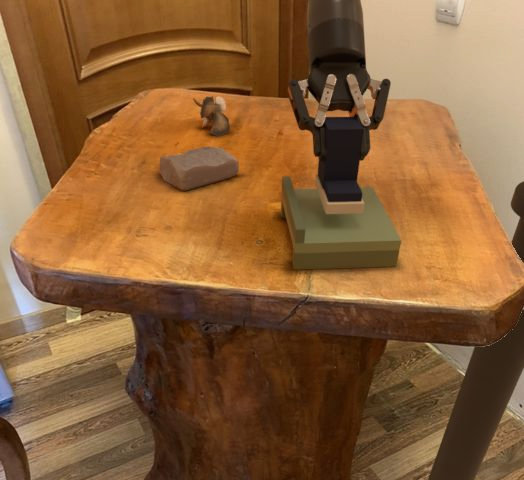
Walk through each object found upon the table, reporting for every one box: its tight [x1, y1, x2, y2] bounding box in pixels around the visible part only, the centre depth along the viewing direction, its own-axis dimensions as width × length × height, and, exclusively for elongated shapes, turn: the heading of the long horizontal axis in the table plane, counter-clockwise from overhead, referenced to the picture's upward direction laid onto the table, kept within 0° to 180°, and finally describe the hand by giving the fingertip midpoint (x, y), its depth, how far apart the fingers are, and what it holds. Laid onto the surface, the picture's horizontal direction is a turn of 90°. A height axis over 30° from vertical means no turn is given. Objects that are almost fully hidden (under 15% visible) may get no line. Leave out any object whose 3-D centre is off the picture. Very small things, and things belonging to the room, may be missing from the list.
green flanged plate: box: [280, 175, 402, 271], centre depth 78 cm, size 14×16×6 cm
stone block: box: [158, 146, 240, 192], centre depth 95 cm, size 12×5×10 cm
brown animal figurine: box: [192, 95, 231, 137], centre depth 112 cm, size 8×7×9 cm
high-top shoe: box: [314, 116, 364, 214], centre depth 73 cm, size 9×5×10 cm, turn 5°
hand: (342, 158), depth 73 cm, fingers closed on high-top shoe, 4 cm apart
